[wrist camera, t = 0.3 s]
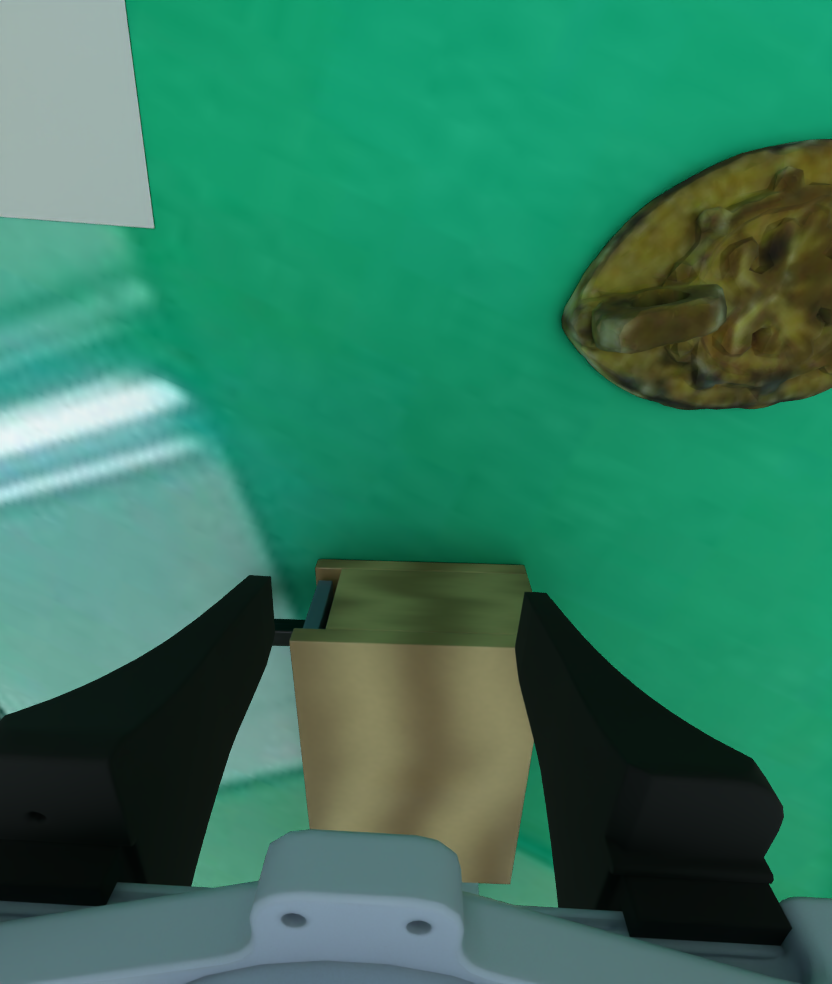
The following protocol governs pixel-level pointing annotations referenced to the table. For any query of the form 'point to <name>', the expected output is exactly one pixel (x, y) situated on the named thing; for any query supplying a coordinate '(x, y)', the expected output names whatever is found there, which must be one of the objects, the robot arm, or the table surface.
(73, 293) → the table surface
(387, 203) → the table surface
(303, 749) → the cupboard
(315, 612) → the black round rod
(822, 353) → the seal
